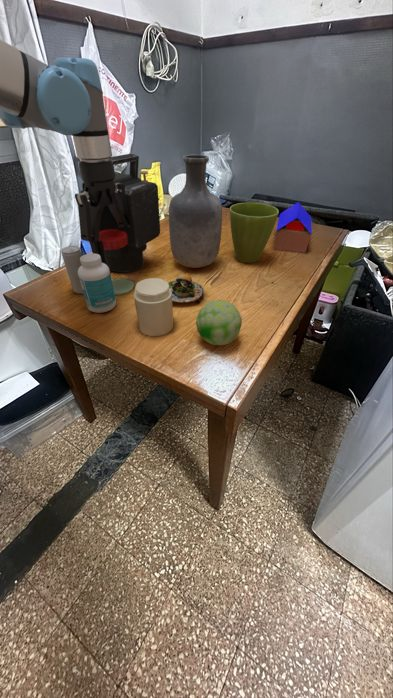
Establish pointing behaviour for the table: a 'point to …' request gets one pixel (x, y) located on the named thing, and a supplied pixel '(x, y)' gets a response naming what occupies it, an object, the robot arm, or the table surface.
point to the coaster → (122, 286)
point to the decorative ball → (218, 322)
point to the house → (293, 229)
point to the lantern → (133, 216)
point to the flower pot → (251, 229)
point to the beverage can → (73, 266)
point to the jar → (154, 306)
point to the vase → (195, 217)
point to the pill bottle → (96, 284)
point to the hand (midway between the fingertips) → (114, 258)
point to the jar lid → (113, 239)
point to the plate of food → (185, 289)
